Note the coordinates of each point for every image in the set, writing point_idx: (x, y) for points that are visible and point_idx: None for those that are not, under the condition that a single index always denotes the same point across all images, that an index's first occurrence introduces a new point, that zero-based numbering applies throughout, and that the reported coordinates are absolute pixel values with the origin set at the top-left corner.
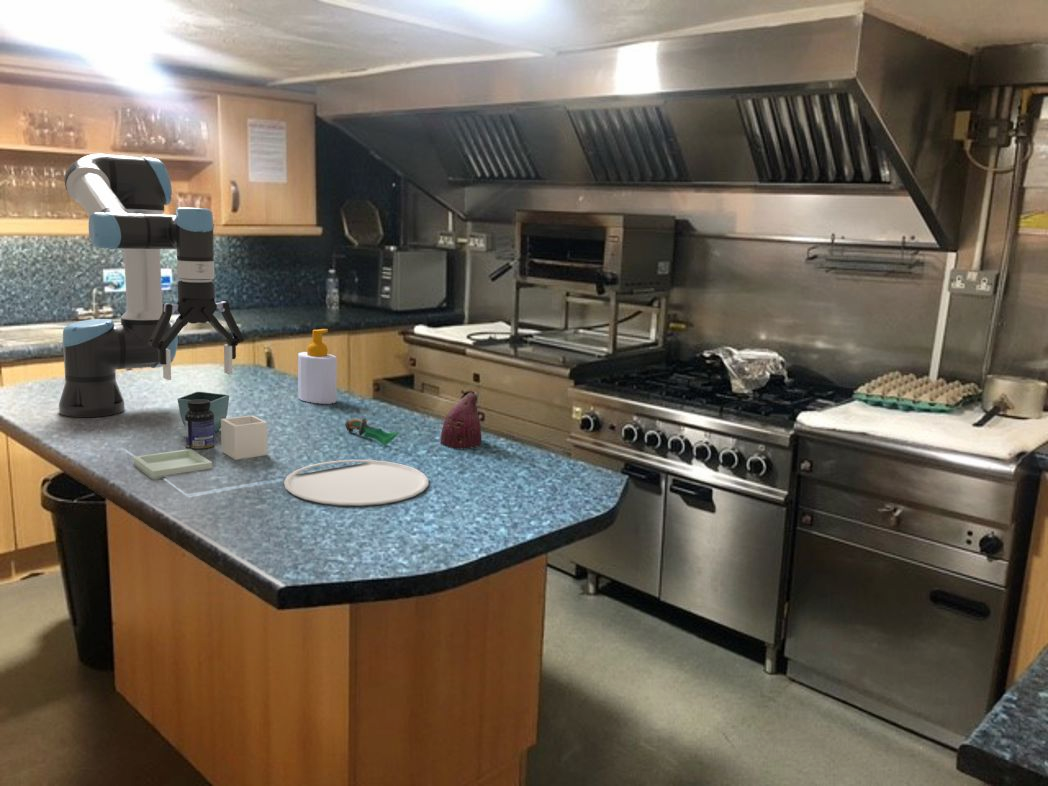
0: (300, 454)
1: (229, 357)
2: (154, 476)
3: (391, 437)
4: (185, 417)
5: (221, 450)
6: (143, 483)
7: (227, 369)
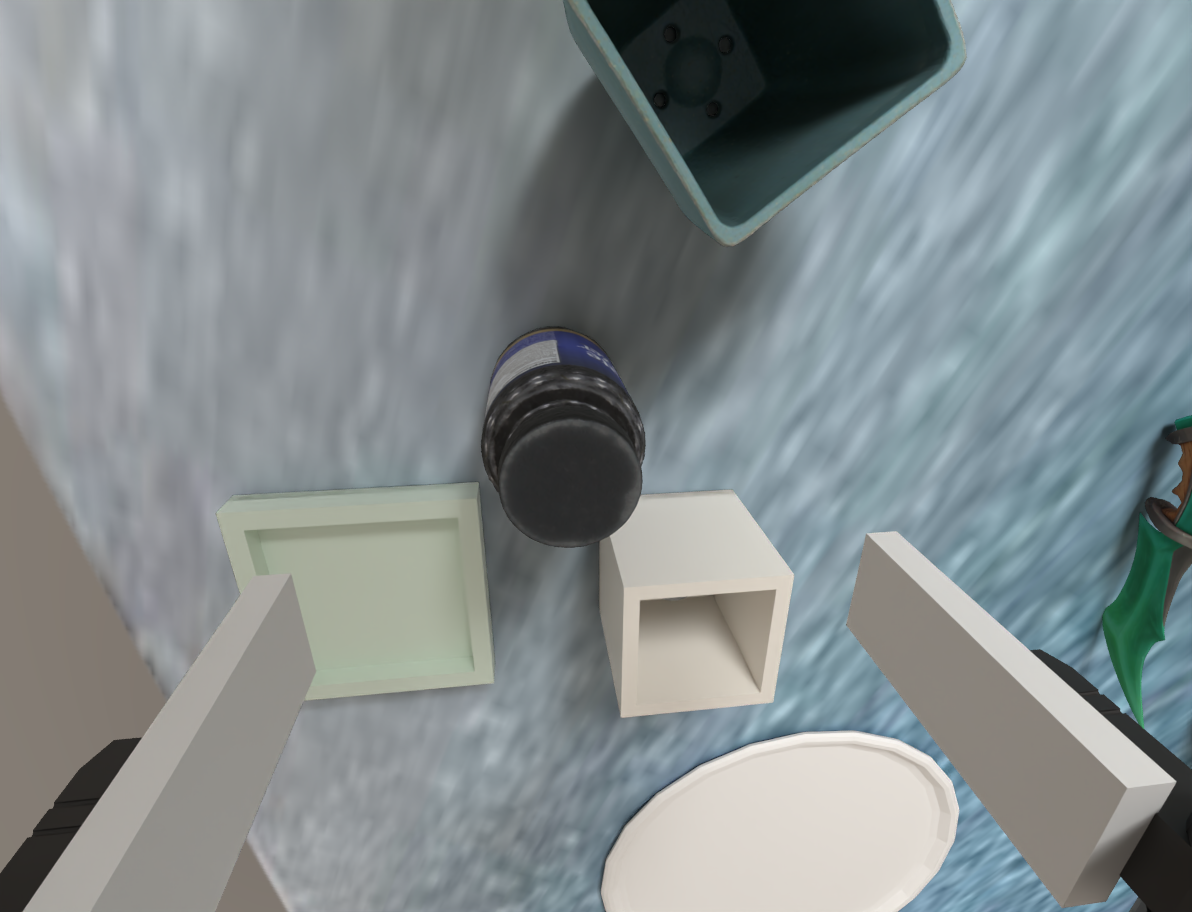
0: (827, 609)
1: (955, 763)
2: None
3: (1122, 677)
4: (481, 443)
5: None
6: None
7: (875, 624)
